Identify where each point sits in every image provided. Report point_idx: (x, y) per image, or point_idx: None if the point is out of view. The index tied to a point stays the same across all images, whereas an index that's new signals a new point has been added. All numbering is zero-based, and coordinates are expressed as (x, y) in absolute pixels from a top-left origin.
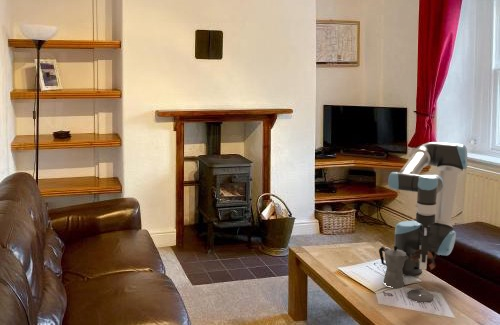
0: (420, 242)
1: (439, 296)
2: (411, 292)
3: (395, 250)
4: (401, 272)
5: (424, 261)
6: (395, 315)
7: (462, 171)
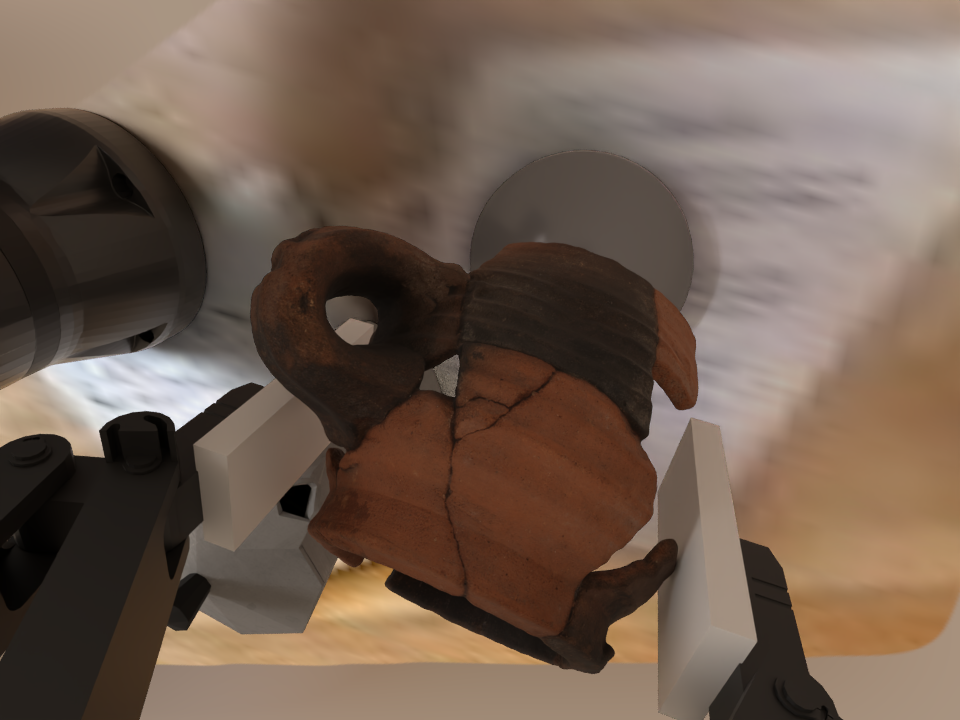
0: (172, 596)
1: (562, 84)
2: None
3: (213, 586)
4: None
5: (773, 579)
6: (891, 525)
7: None
